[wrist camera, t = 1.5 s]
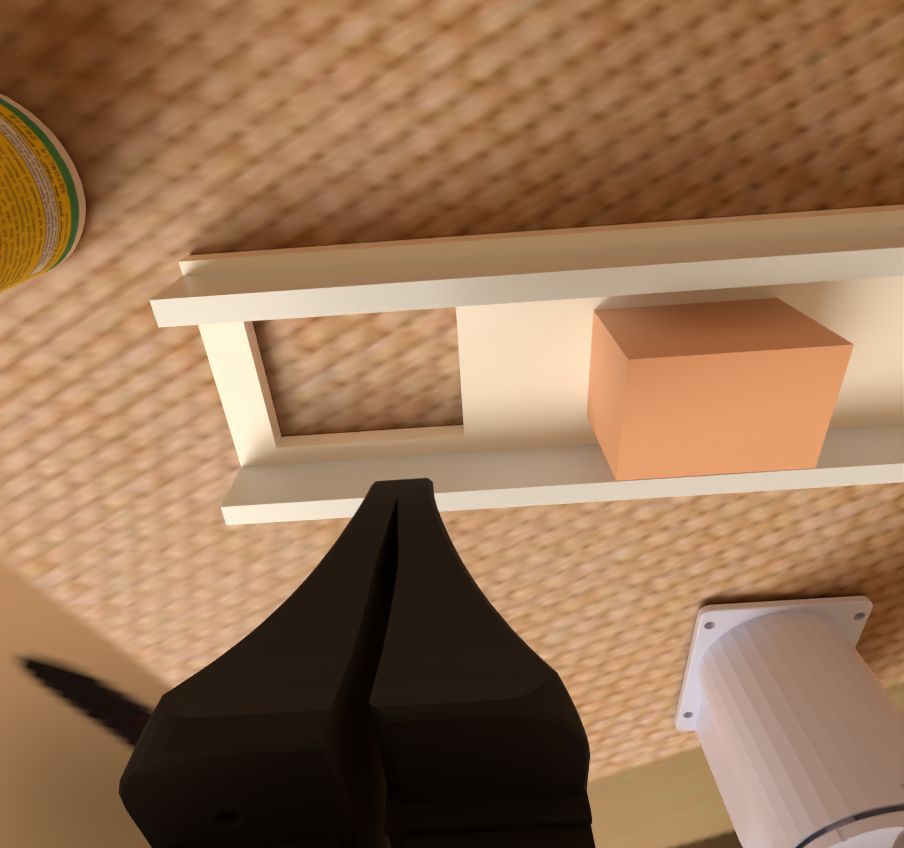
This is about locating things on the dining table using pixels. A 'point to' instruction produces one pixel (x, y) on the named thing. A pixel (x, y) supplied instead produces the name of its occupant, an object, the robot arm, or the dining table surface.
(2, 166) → the supplement bottle
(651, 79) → the dining table surface
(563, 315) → the trap channel
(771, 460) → the terracotta block
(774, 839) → the robot arm
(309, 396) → the dining table surface
